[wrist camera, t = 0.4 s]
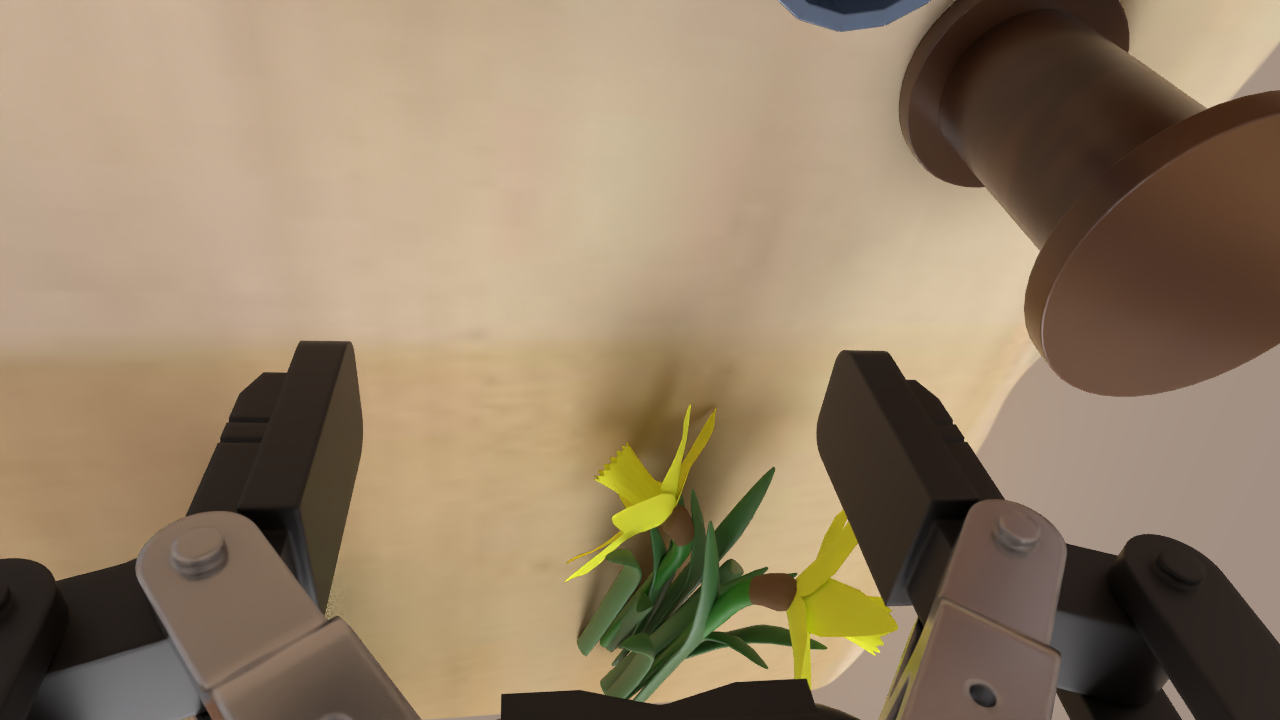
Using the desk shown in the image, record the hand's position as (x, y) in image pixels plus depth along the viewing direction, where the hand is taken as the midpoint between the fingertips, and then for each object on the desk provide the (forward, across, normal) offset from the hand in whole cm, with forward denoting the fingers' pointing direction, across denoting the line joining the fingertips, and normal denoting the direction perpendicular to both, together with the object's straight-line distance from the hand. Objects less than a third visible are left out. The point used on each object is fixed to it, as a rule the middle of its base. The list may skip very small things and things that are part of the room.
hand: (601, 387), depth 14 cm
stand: (+23, -20, +1) cm, 31 cm away
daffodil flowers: (+27, -9, +32) cm, 43 cm away
